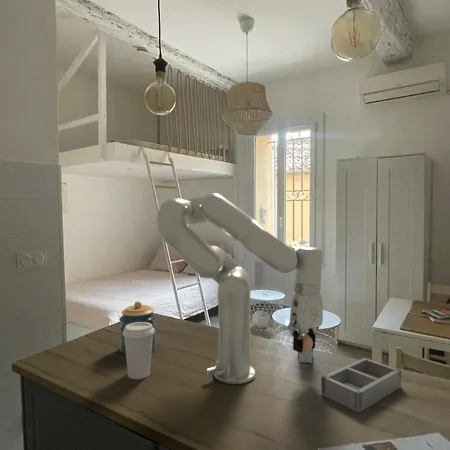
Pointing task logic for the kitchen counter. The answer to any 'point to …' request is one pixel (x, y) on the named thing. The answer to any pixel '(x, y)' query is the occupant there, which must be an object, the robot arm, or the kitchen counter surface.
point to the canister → (137, 315)
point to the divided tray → (361, 383)
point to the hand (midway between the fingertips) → (303, 348)
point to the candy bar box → (305, 354)
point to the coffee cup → (138, 348)
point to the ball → (307, 342)
